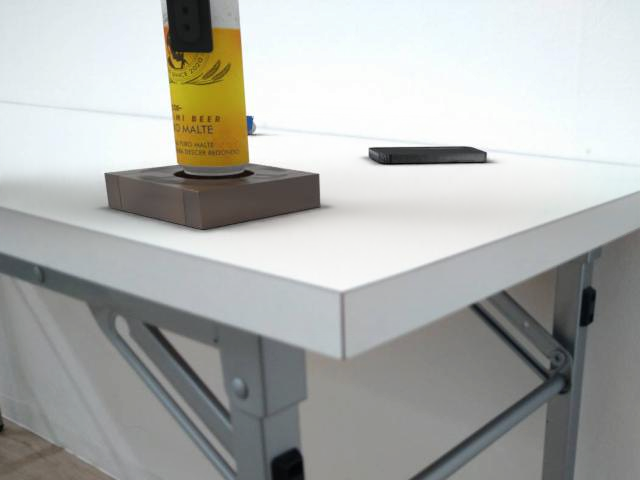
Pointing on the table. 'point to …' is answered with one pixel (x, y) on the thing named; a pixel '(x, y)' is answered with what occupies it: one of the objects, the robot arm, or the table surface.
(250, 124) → the ultrasonic sensor
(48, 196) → the table surface
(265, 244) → the table surface
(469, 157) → the phone
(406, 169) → the table surface
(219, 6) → the beer can
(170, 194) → the can holder
